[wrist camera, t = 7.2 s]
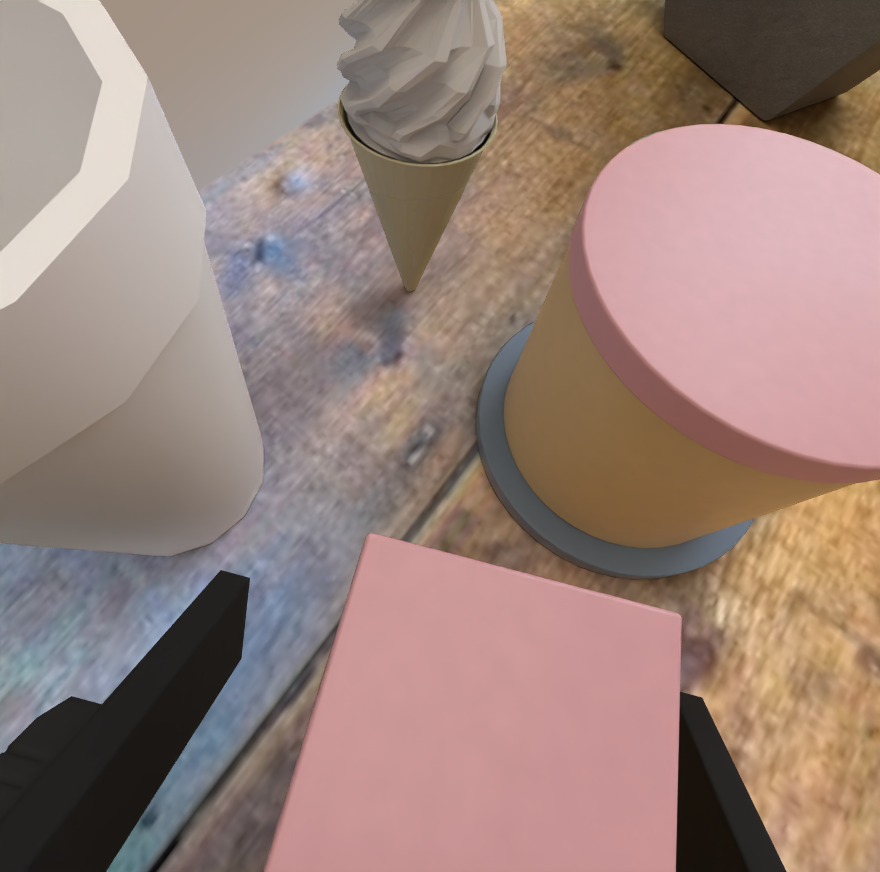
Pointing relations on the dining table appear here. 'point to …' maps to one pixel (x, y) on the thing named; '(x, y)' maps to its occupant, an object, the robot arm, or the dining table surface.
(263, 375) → the dining table surface
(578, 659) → the cake slice
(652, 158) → the cake
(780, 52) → the brown hexagonal block
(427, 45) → the ice cream cone
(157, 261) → the foam cup
